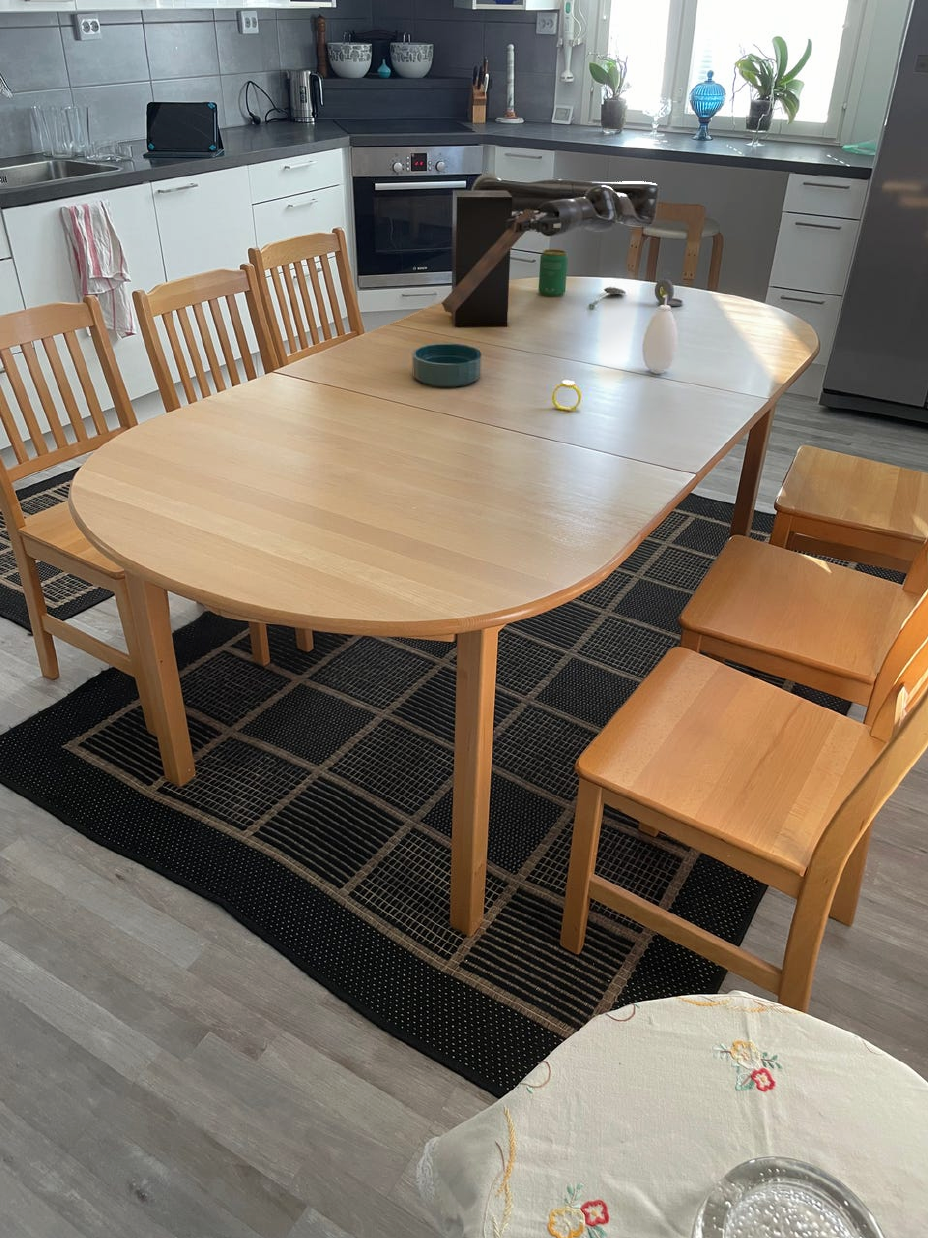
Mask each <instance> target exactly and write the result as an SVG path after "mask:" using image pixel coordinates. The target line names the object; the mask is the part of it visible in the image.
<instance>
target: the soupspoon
mask: <svg viewBox="0 0 928 1238" xmlns="http://www.w3.org/2000/svg"><path fill="white" fill-rule="evenodd" d="M603 291H604V292H605V294H603V295H602V296H601V297H599V298H598V299H597V300H594V301H593V302H591V303H589V304H588V308H589V309H590V310H594V309H595V307H596V305H597V304H598V303H599V302H601V301H602V300H604V299H605V298H606V297H609V296H611V295H617V294H624V295H625V294H627V292H626V290H624V289H622V288H621V287H618V286H608V287H605V288H604V289H603Z"/></svg>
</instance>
